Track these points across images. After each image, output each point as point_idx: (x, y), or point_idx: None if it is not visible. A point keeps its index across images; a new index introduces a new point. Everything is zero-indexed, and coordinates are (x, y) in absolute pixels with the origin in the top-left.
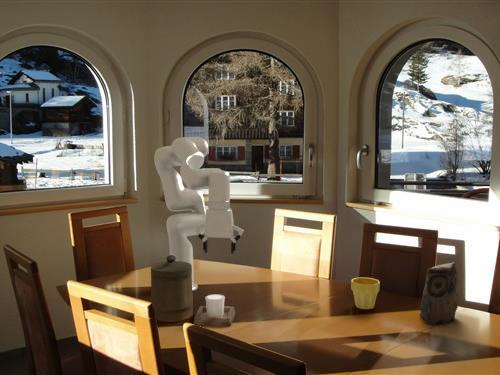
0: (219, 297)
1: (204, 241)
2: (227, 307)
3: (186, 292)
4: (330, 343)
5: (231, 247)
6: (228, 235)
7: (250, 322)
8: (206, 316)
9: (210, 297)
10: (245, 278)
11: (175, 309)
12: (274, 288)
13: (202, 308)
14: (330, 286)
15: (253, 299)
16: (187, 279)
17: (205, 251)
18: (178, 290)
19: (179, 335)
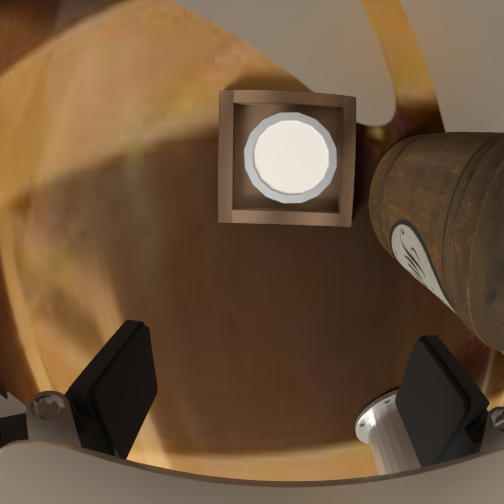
0: (268, 152)
1: (491, 413)
2: (244, 211)
3: (425, 163)
4: (6, 48)
5: (118, 360)
6: (34, 473)
7: (159, 131)
8: None
9: (312, 153)
10: (232, 473)
11: (430, 134)
12: None
13: (340, 200)
14: None
15: (180, 347)
16: (453, 178)
17: (433, 341)
18: (460, 138)
19: (373, 27)
